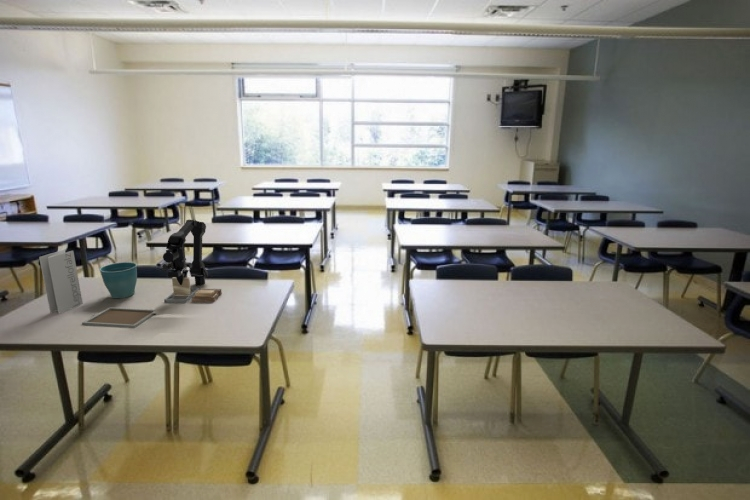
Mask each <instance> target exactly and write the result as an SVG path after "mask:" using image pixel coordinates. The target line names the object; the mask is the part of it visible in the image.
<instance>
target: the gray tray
mask: <svg viewBox="0 0 750 500" xmlns="http://www.w3.org/2000/svg"><path fill="white" fill-rule="evenodd" d="M190 289H191V294H190V295H187V297H186V298H184V299H183V298H173V297H175V296H176V295H174V291H173V292H172V293H171V294H169V295H168V296H167V297H166V298H164V299H163V300H164V303H187V302H189V300H191V299H192V296H193V295H195V293H196V292H197V291H198V290H200V289H201V288H200V287H190Z"/></svg>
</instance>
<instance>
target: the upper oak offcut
mask: <svg viewBox="0 0 750 500" xmlns="http://www.w3.org/2000/svg"><path fill="white" fill-rule="evenodd" d="M214 294H215V293H214V291H208V290H198V291H197V292H196V293H195V296H196V297H212V296H213V295H214Z"/></svg>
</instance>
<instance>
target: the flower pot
mask: <svg viewBox="0 0 750 500" xmlns="http://www.w3.org/2000/svg"><path fill="white" fill-rule="evenodd" d="M137 266H138V264H137V263H135V262H129V261H128V262H127V261H125V262H115V263H110V264H107V265H104V266H102V267H100V268H99V271H100V275H101V277H102V281H103V283H104V286H105V288H106V289H107V291H108V293H109V295H110V297H111V298H113V299H123V298H129V297H131V296H133V295H135V292H136V291H135V290H136V286H137V281H138V272H137V270H138V269H137Z"/></svg>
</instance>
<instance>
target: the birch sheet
mask: <svg viewBox="0 0 750 500" xmlns="http://www.w3.org/2000/svg"><path fill="white" fill-rule="evenodd" d="M171 281H172V290H173V292H174V295H175V296H189V295H190V294H192V291H191V289H190V288H191V284H190V283H191V282H190V281H191V280H190V277H187V276H186V277H184V278H183V283H182V285H180V284H179V282H178V280H177V278H176V277H171Z"/></svg>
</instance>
